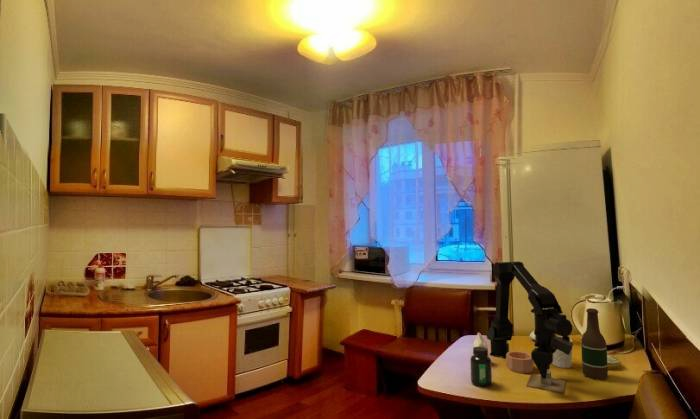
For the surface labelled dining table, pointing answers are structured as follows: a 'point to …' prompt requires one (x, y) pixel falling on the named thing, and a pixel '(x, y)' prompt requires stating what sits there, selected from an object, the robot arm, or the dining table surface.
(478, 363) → the supplement bottle
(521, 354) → the terracotta bowl
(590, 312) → the beer bottle
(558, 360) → the white cup
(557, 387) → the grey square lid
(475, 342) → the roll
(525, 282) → the robot arm
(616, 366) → the decorated donut
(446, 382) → the dining table surface
